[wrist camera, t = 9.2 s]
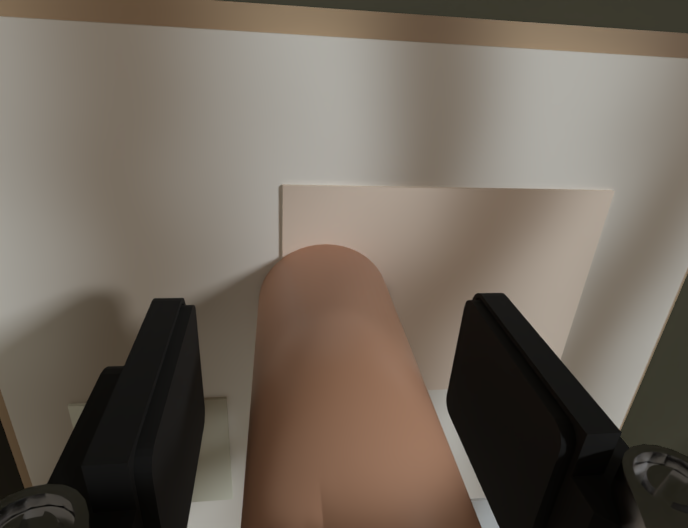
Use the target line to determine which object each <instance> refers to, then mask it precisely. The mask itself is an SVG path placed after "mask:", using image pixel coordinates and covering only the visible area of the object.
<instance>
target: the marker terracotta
mask: <svg viewBox="0 0 688 528" xmlns="http://www.w3.org/2000/svg"><path fill="white" fill-rule="evenodd" d="M241 528H482V527H481V525H480V522H479V519H478V517H477V514H476V512H475V509H474V507H473V504H472V502H471V499H470V497H469V494H468V492H467V489H466V487H465V484H464V482H463V479H462V476H461V474H460V471H459V469H458V466H457V464H456V461H455V459H454V456H453V454H452V451H451V449H450V446H449V444H448V441H447V439H446V436H445V433H444V431H443V428H442V426H441V423H440V421H439V418H438V416H437V413H436V411H435V408H434V406H433V403H432V401H431V398H430V396H429V393H428V390H427V388H426V385H425V383H424V380H423V378H422V375H421V373H420V370H419V368H418V365H417V363H416V360H415V358H414V355H413V353H412V350H411V347H410V345H409V342H408V340H407V337H406V335H405V332H404V330H403V327H402V325H401V322H400V320H399V317H398V315H397V312H396V309H395V307H394V304H393V302H392V299H391V297H390V294H389V292H388V289H387V287H386V284H385V282H384V279H383V277H382V275H381V273H380V271H379V270H378V268H377V267H376V266H375V265H374V264H373V262H371V261H370V260H369V259H368V258H367V257H366V256H364V255H362V254H361V253H359V252H357V251H355V250H353V249H350V248H347V247H344V246H339V245H331V244H321V245H313V246H308V247H304V248H301V249H299V250H296V251H294V252H292V253H290V254H288V255H287V256H285V257H284V258H282V259H281V260H280V261H279V262H277V263H276V264H275V265H274V266H273V267H272V269H271V270H270V271H269V273H268V274H267V276H266V277H265V279H264V281H263V284H262V286H261V289H260V294H259V303H258V316H257V328H256V341H255V353H254V366H253V379H252V391H251V404H250V416H249V429H248V442H247V454H246V467H245V479H244V492H243V505H242V517H241Z"/></svg>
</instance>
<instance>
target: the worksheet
mask: <svg viewBox="0 0 688 528" xmlns="http://www.w3.org/2000/svg"><path fill="white" fill-rule="evenodd" d="M321 244H331V245H339V246H344V247H347V248H350V249H353V250H355V251H357V252H359V253H361V254H362V255H364V256H366V257H367V258H368V259H369V260H370V261H371V262H373V264H374V265H375V266H376V267H377V268H378V270H379V271H380V273H381V275H382V277H383V279H384V282H385V284H386V287H387V289H388V292H389V294H390V297H391V299H392V302H393V304H394V307H395V309H396V312H397V315H398V317H399V320H400V322H401V325H402V327H403V330H404V332H405V335H406V337H407V340H408V342H409V345H410V347H411V350H412V353H413V355H414V358H415V360H416V363H417V365H418V368H419V370H420V373H421V375H422V378H423V380H424V383H425V385H426V388H427V390H428V393H429V396H430V398H431V401H432V403H433V406H434V408H435V411H436V413H437V416H438V418H439V421H440V423H441V426H442V428H443V431H444V433H445V436H446V439H447V441H448V444H449V446H450V449H451V451H452V454H453V456H454V459H455V461H456V464H457V466H458V469H459V471H460V474H461V476H462V479H463V482H464V484H465V487H466V489H467V492H468V494H469V497H470V499H471V502H472V504H473V507H474V509H475V512H476V514H477V517H478V519H479V522H480V525H481V527H482V528H499V526H498V524H497V521H496V519H495V517H494V515H493V512H492V510H491V508H490V506H489V503H488V501H487V499H486V497H485V494H484V492H483V490H482V488H481V485H480V483H479V481H478V479H477V476H476V474H475V472H474V470H473V467H472V465H471V463H470V461H469V458H468V456H467V454H466V452H465V449H464V447H463V445H462V443H461V440H460V438H459V436H458V434H457V431H456V429H455V427H454V425H453V422H452V420H451V418H450V416H449V413H448V410H447V405H446V396H447V391H448V386H449V381H450V376H451V371H452V366H453V361H454V355H455V350H456V345H457V340H458V335H459V330H460V325H461V320H462V315H463V310H464V306H465V303H466V301H467V300H472V299H473V297H474V295H475V294H477V293H504V294H505V295H506V296H507V297H508V298H509V299H510V301H511V302H512V303H513V304H514V305H515V307H516V308H517V309H518V310H519V311H520V312H521V314H522V315H523V316H524V317H525V318H526V320H527V321H528V322H529V323H530V324H531V325H532V327H533V328H534V329H535V330H536V331H537V333H538V334H539V335H540V336H541V337H542V339H543V340H544V341H545V342H546V343H547V344H548V346H549V347H550V348H551V349H552V350H553V352H554V353H555V354H556V355H557V356H558V357H559V359H560V360H561V361H562V362H563V363H564V365H565V366H566V367H567V368H568V369H569V371H570V372H571V373H572V374H573V375H574V376H575V378H576V379H577V380H578V381H579V382H580V384H581V385H582V386H583V387H584V388H585V389H586V391H587V392H588V393H589V394H590V395H591V397H592V398H593V399H594V400H595V401H596V403H597V404H598V405H599V406H600V407H601V408H602V410H603V411H604V412H605V413H606V414H607V416H608V417H609V418H610V419H611V420H612V422H613V423H614V424H615V425H616V426H617V427H618V429H619V430H620V431H621V428H622V426H623V424H624V421H625V419H626V416H627V414H628V412H629V409H630V407H631V405H632V402H633V400H634V398H635V395H636V393H637V391H638V388H639V386H640V384H641V381H642V379H643V377H644V374H645V372H646V370H647V367H648V365H649V363H650V360H651V358H652V355H653V353H654V351H655V348H656V346H657V344H658V341H659V339H660V337H661V334H662V332H663V330H664V327H665V325H666V323H667V320H668V318H669V316H670V313H671V311H672V309H673V306H674V304H675V302H676V299H677V297H678V294H679V292H680V290H681V287H682V285H683V283H684V280H685V278H686V276H687V273H688V33H673V32H659V31H645V30H630V29H616V28H602V27H588V26H573V25H559V24H545V23H530V22H516V21H502V20H487V19H473V18H459V17H444V16H430V15H416V14H401V13H387V12H373V11H358V10H344V9H330V8H315V7H301V6H287V5H272V4H258V3H244V2H229V1H215V0H0V419H1V422H2V425H3V428H4V430H5V433H6V436H7V439H8V442H9V445H10V448H11V451H12V454H13V456H14V459H15V462H16V465H17V468H18V471H19V474H20V477H21V479H22V482H23V485H24V488H28V487H33V486H38V485H43V484H47V483H48V480H49V478H50V476H51V474H52V472H53V470H54V468H55V466H56V464H57V462H58V460H59V458H60V456H61V454H62V452H63V450H64V448H65V446H66V443H67V441H68V439H69V437H70V435H71V433H72V431H73V429H74V427H75V425H76V423H77V421H78V419H79V417H80V415H81V413H82V411H83V409H84V406H85V404H86V402H87V400H88V398H89V396H90V394H91V392H92V390H93V388H94V386H95V384H96V382H97V380H98V378H99V376H100V374H101V372H102V371H103V369H104V368H106V367H108V366H124V365H125V362H126V360H127V358H128V355H129V353H130V351H131V348H132V346H133V344H134V341H135V339H136V337H137V334H138V332H139V330H140V327H141V325H142V323H143V320H144V318H145V316H146V313H147V311H148V309H149V307H150V304H151V302H152V300H153V299H154V298H184V300H185V304H186V305H195V308H196V317H197V327H198V338H199V349H200V360H201V371H202V381H203V392H204V403H205V424H204V430H203V436H202V442H201V448H200V454H199V460H198V466H197V472H196V478H195V484H194V490H193V495H192V501H191V507H190V513H189V519H188V525H187V528H241V517H242V505H243V492H244V479H245V467H246V454H247V442H248V429H249V416H250V404H251V391H252V379H253V366H254V353H255V341H256V328H257V316H258V303H259V294H260V289H261V286H262V284H263V281H264V279H265V277H266V276H267V274H268V273H269V271H270V270H271V269H272V267H273V266H274V265H275V264H276V263H277V262H279V261H280V260H281V259H282V258H284V257H285V256H287V255H288V254H290V253H292V252H294V251H296V250H299V249H301V248H304V247H308V246H313V245H321Z"/></svg>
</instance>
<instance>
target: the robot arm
mask: <svg viewBox="0 0 688 528" xmlns="http://www.w3.org/2000/svg"><path fill="white" fill-rule="evenodd" d="M446 405H447V410H448V413H449V416H450V418H451V420H452V422H453V425H454V427H455V429H456V431H457V434H458V436H459V438H460V440H461V443H462V445H463V447H464V449H465V452H466V454H467V456H468V458H469V461H470V463H471V465H472V467H473V470H474V472H475V474H476V476H477V479H478V481H479V483H480V485H481V488H482V490H483V492H484V494H485V497H486V499H487V501H488V503H489V506H490V508H491V510H492V512H493V515H494V517H495V519H496V521H497V524H498V526H499V528H688V456H685V455H683V454H681V453H679V452H677V451H674V450H672V449H669V448H665V447H661V446H658V445H647V444H642V445H637V446H632V447H631V448H629V447H628V446H627V444H626V443H625V442H624V441H623V440H622V438H621V437H620V435H621V433H622V432H621V431H620V430H619V429H618V427H617V426H616V425H615V424H614V423H613V422H612V420H611V419H610V418H609V417H608V416H607V414H606V413H605V412H604V411H603V410H602V408H601V407H600V406H599V405H598V404H597V403H596V401H595V400H594V399H593V398H592V397H591V395H590V394H589V393H588V392H587V391H586V389H585V388H584V387H583V386H582V385H581V384H580V382H579V381H578V380H577V379H576V378H575V376H574V375H573V374H572V373H571V372H570V371H569V369H568V368H567V367H566V366H565V365H564V363H563V362H562V361H561V360H560V359H559V357H558V356H557V355H556V354H555V353H554V352H553V350H552V349H551V348H550V347H549V346H548V344H547V343H546V342H545V341H544V340H543V339H542V337H541V336H540V335H539V334H538V333H537V331H536V330H535V329H534V328H533V327H532V325H531V324H530V323H529V322H528V321H527V320H526V318H525V317H524V316H523V315H522V314H521V312H520V311H519V310H518V309H517V308H516V307H515V305H514V304H513V303H512V302H511V301H510V299H509V298H508V297H507V296H506V295H505V294H504V293H477V294H475V295H474V297H473V299H472V300H467V301H466V303H465V306H464V310H463V315H462V320H461V325H460V330H459V335H458V340H457V345H456V350H455V355H454V361H453V366H452V371H451V376H450V381H449V386H448V391H447V396H446ZM204 424H205V403H204V392H203V381H202V371H201V360H200V349H199V338H198V327H197V317H196V308H195V305H186V304H185V300H184V298H154V299H153V300H152V302H151V304H150V307H149V309H148V311H147V313H146V316H145V318H144V320H143V323H142V325H141V327H140V330H139V332H138V334H137V337H136V339H135V341H134V344H133V346H132V348H131V351H130V353H129V355H128V358H127V360H126V362H125V365H124V366H108V367H106V368H104V369H103V371H102V372H101V374H100V376H99V378H98V380H97V382H96V384H95V386H94V388H93V390H92V392H91V394H90V396H89V398H88V400H87V402H86V404H85V406H84V409H83V411H82V413H81V415H80V417H79V419H78V421H77V423H76V425H75V427H74V429H73V431H72V433H71V435H70V437H69V439H68V441H67V443H66V446H65V448H64V450H63V452H62V454H61V456H60V458H59V460H58V462H57V464H56V466H55V468H54V470H53V472H52V474H51V476H50V478H49V480H48V483H47V484H43V485H38V486H33V487H28V488H25V489H23V490H20V491H18V492H15V493H13V494H10V495H8V496H6V497H5V498H3V499H1V500H0V528H187V525H188V519H189V513H190V507H191V501H192V495H193V490H194V484H195V478H196V472H197V466H198V460H199V454H200V448H201V442H202V436H203V430H204Z"/></svg>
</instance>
